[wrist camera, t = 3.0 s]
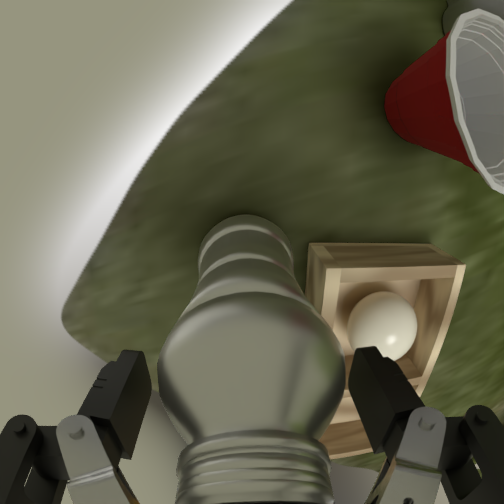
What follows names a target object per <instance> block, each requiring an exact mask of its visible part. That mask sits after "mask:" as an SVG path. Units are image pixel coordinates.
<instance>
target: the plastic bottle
mask: <svg viewBox="0 0 504 504" xmlns="http://www.w3.org/2000/svg"><path fill="white" fill-rule="evenodd" d="M293 269H294V259H293V252H292V247H291V244H290V242H289V240H288V238H287V236H286V235H285V233H284V232H283V231H282V230H281V229H280V228H279V227H278V226H277V225H275V224H274V223H272V222H270V221H269V220H267V219H265V218H262V217H259V216H255V215H248V214H247V215H237V216H233V217H230V218H227V219H225V220H223V221H221V222H220V223H218V224H217V225H216V226H214V227H213V228H212V229H211V230H210V231H209V232H208V233H207V234H206V236H205V237H204V239H203V241H202V243H201V246H200V249H199V254H198V271H199V281H198V285H197V288H196V289H195V292H194V294H193V297H192V299H191V301H190V303H189V304H188V306H187V307H186V309H185V310H184V312H183V313H182V315H181V316H180V318H179V319H178V321H177V322H176V324H175V325H174V326H173V328H172V330H171V332H170V333H169V335H168V337H167V339H166V341H165V343H164V345H163V347H162V349H161V351H160V355H159V359H158V363H157V371H158V384H159V393H160V397H161V400H162V403H163V406H164V408H165V410H166V411H167V414H168V415H169V417H170V419H171V421H172V423H173V425H174V426H175V428H176V429H177V431H178V432H179V434H180V435H181V436H182V438H183V439H184V440H185V442H186V443H187V444H188V445H187V447H185V448H184V449H183V450H182V451H181V453H180V455H179V458H178V463H177V469H176V472H177V477H178V479H179V482H178V488H177V493H176V500H175V504H335V501H334V496H333V491H332V487H331V482H330V477H329V474H330V472H331V462H330V457H329V453H328V450H327V448H326V447H325V445H324V444H322V443H321V442H320V441H319V440H320V438H321V437H322V435H323V434H324V432H325V431H326V429H327V428H328V426H329V425H330V423H331V421H332V419H333V417H334V415H335V413H336V411H337V409H338V407H339V405H340V402H341V400H342V398H343V395H344V390H345V385H346V366H345V355H344V352H343V349H342V347H341V344H340V342H339V340H338V338H337V337H336V335H335V334H334V332H333V330H332V329H331V327H330V326H329V325H328V323H327V322H326V321H325V319H324V318H323V317H322V316H321V315H320V314H319V312H318V311H317V310H316V309H315V307H314V306H313V305H312V304H311V303H310V301H309V300H308V299H307V298H306V297H305V295H304V294H303V292H302V290H301V288H300V286H299V285H298V283H297V281H296V279H295V276H294V272H293Z"/></svg>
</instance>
